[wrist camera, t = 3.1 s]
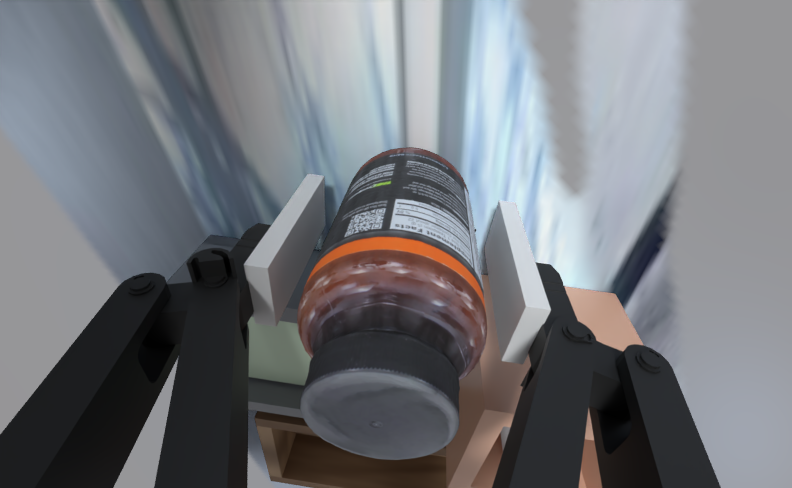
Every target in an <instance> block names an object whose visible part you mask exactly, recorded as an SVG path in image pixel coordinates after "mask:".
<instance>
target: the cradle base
mask: <svg viewBox="0 0 792 488" xmlns="http://www.w3.org/2000/svg"><path fill="white" fill-rule="evenodd" d="M239 240H241V239H235V238H228V237H221V236H215V235H210V236H209V237H208V238H207V239H206V240H205V241H204V242H203V243H202V244H201V246H200V247H199V248H198V249H197V250H196V251H195V252H194V253H193V254H192V255H194V254H195V253H197V252H199V251H201V250H204V249H209V248H222V249H226V250H228V251H229V252H230V251H231V250H232V249H233V247H234V246H236V244H237V242H238V241H239ZM319 253H320V251H318V250H313V252H312V254H311V256H310V258H309V261H308V263H307V265H306V267H305V269H304V271H303V273H302V275H301V277H300V279H299V281H298V283H297V285H296V287H295V289H294V291H293V293H292V296H291V298H290V300H289V302H288V304H287V306H286V308H285V310H284V312H283V314H282V316H281V318H280V320H279V321H284V322H290V323H297V314H298V306H299V303H300V299H301V296H302V294H303V290H304V287H305V285H306V283H307V280H308V278H309V276H310V273H311V271H312V269H313V266H314V264H315V262H316V260H317V257H318V255H319ZM192 255H191V256H192ZM191 256H190V257H191ZM190 257H189V258H190ZM187 261H188V260H187ZM187 261H186V262H185V263H184V264H183V265H182V266H181V267H180V268H179V269H178V270H177V272H176V273H175V274H174V275H173V276H172V277H171V278H170V279H169V280H168V281H167V282H166V283H167V284H175V283H187V282H192V280H191V276H190V273H189V270H188V267H187V264H186V263H187ZM251 317H254V315H253V314H252V316H251ZM303 388H304V386H303V385H297V384H291V383H284V382H278V381H271V380H265V379H259V378H252V377H249V382H248V409H249V410H255V411H261V412H268V413H274V414H280V415H287V416H293V417H299V418H303V416H302V414H301V410H300V398H301V395H302V391H303Z"/></svg>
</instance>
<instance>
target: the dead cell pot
mask: <svg viewBox="0 0 792 488" xmlns="http://www.w3.org/2000/svg"><path fill="white" fill-rule="evenodd" d="M481 277H482V283H483V290H484V303H485V310H486V317H487V337H486V344H485V348H484V350H483V354H482V355H481V358H480V360H479V362H478V363H477V364H476V366H475V368H474V369H473V370H472V371H471V372H470V373H469V374H468V375H467V376H466V377H464V378H463V379H461V380H460V381H459V386H460V390H459V422H460V423H459V428H458V431H457V433H456V435H455V437H454V438H453V440H452V441H451V442H450V443H449V444H448V445H446V488H492V486H493V483H494V479H495V476H496V473H497V470H498V466H499V463H500V460H501V457H502V453H503V450H504V447H505V443H506V440H507V437H508V434H509V430H510V427H511V424H512V421H513V417H514V414H515V411H516V407H517V404H518V401H519V398H520V394H521V391H522V388H523V387H522V386H520V385H521V383H522V381H523V379H524V378H525V376H526V374H527V372H528V370H529V368H530V366H531V363H530V358H529V354H528V356H527V358H526V360H525V362H524V364H518V363H511V362H505V361H501V356H500V349H499V343H498V336H497V329H496V323H495V316H494V310H493V303H492V297H491V290H490V284H489V277H488V275H482V274H481ZM564 287H565V286H564ZM565 290H566V294H567V295H568V297H569V300H570V302H571V305H572V307H573V310H574V312H575V315H576V317H577V320H578V321H579V322H581V323H583V324H584V325H586V326H587V327H588V328H589V329H590V330H591V331H592V332H593V334H594V335H595V337H596V340H597V341H599V342H601V343H603V344H605V345H608V346H610V347H613V348H615V349H618V350H620V351H624V350H625V349H626V347H627V346H629V345H632V344H638V345H643V343H642V342H641V340H640V338H639V336H638V334H637V333H636V331H635V329H634V327H633V325H632V323H631V322H630V320H629V318H628V316H627V314H626V313H625V311H624V309H623V307H622V305H621V303H620V302H619V300H618V298H617V296H616V294H613V293H606V292H599V291H592V290H585V289H578V288H572V287H565ZM643 346H644V345H643ZM579 488H602V484H601V478H600V472H599V466H598V460H597V454H596V448H595V442H594V436H593V430H592V424H591V418H590V412H589V409H588V417H587V425H586V433H585V441H584V449H583V457H582V465H581V473H580V481H579Z"/></svg>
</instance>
